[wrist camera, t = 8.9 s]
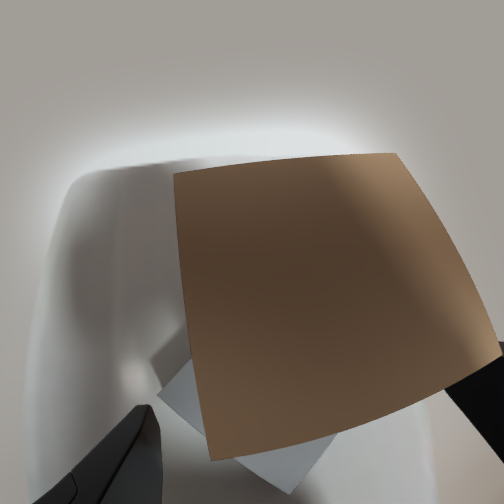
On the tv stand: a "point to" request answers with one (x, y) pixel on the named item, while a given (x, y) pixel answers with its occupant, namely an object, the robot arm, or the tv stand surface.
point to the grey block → (263, 464)
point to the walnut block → (319, 298)
